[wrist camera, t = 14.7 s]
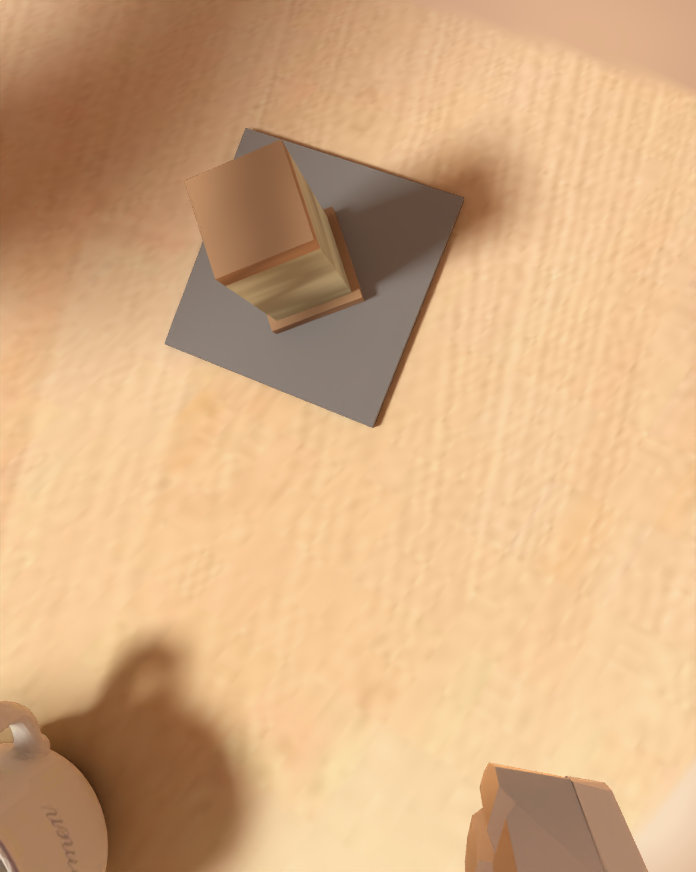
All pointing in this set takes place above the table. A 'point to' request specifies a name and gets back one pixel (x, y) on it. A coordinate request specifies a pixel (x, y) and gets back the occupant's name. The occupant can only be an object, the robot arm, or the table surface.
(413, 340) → the table surface
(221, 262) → the banded square pillar
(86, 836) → the teacup
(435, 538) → the table surface
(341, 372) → the mat
